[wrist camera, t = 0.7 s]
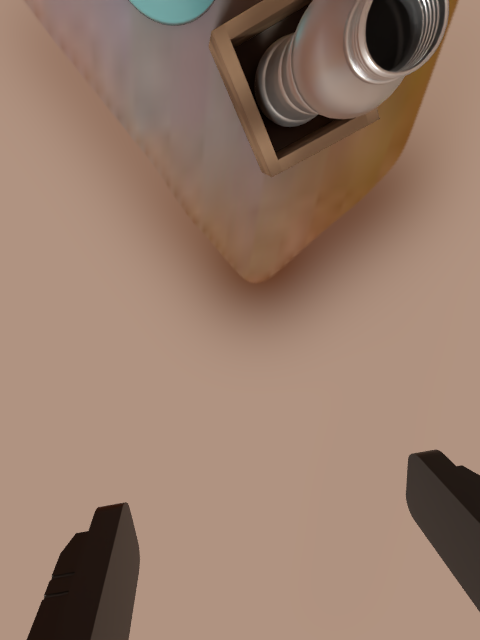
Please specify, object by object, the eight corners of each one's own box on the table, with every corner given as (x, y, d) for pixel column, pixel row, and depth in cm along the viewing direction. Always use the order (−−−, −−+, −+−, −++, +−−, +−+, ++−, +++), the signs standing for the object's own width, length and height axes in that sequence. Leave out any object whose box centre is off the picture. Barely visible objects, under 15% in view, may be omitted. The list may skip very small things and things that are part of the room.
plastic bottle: (235, 74, 31) (295, -9, 13) (301, 22, 30) (462, -144, 12) (272, 142, 34) (362, 149, 16) (334, 97, 33) (501, 52, 15)
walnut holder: (208, 46, 30) (211, 31, 25) (316, -18, 29) (339, -46, 24) (261, 172, 35) (272, 177, 30) (355, 121, 34) (379, 118, 29)
